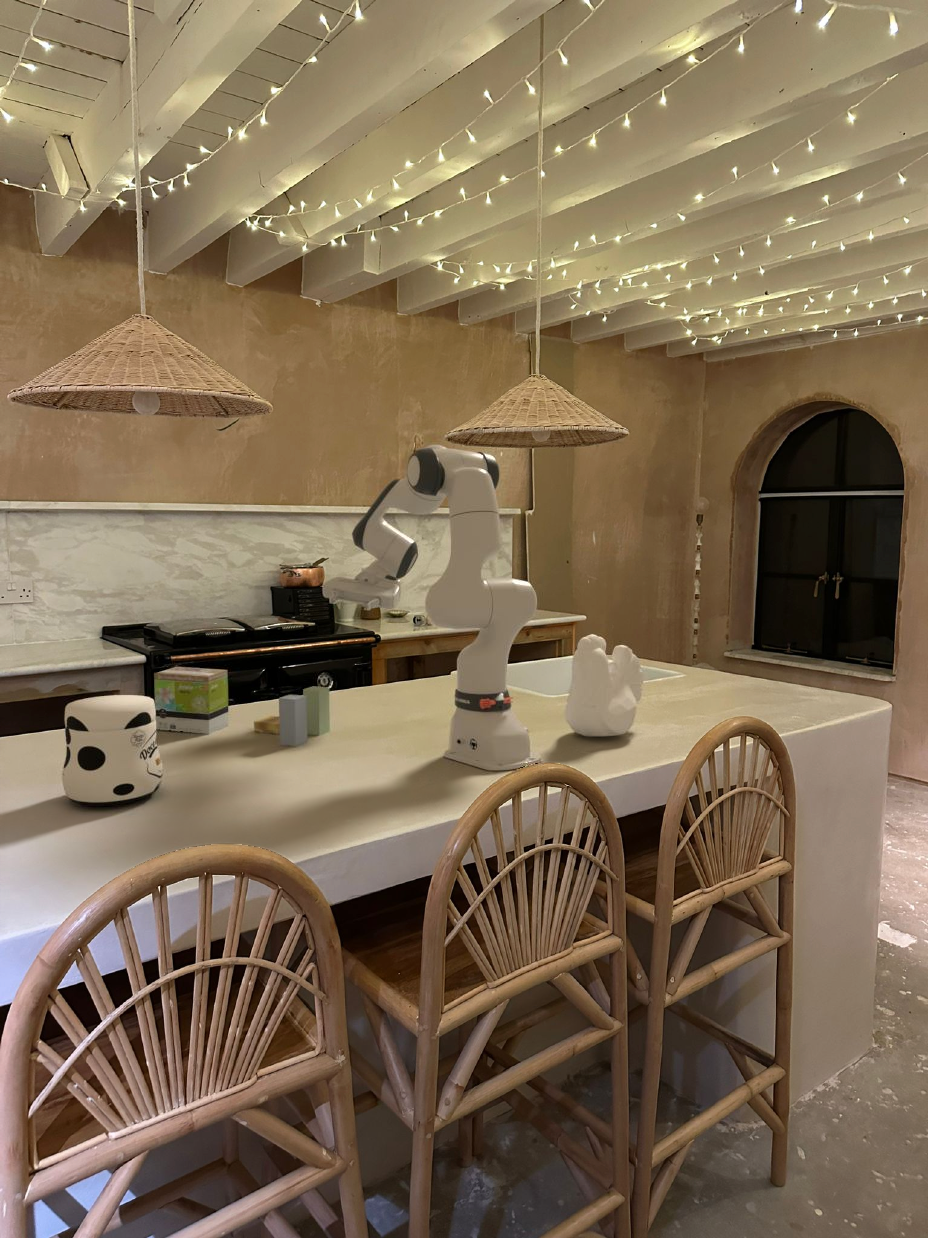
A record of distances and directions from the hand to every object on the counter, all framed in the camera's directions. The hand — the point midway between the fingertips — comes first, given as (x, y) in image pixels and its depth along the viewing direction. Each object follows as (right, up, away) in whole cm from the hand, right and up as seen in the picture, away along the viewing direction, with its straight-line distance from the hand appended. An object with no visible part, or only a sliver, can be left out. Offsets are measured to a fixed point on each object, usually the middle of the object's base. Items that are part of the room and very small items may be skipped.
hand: (348, 604), depth 217 cm
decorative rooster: (+65, -32, -8) cm, 73 cm away
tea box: (-39, -31, -2) cm, 50 cm away
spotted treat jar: (-36, -37, -57) cm, 77 cm away
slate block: (-11, -33, -17) cm, 38 cm away
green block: (-7, -32, -7) cm, 33 cm away
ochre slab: (-18, -31, -4) cm, 36 cm away
